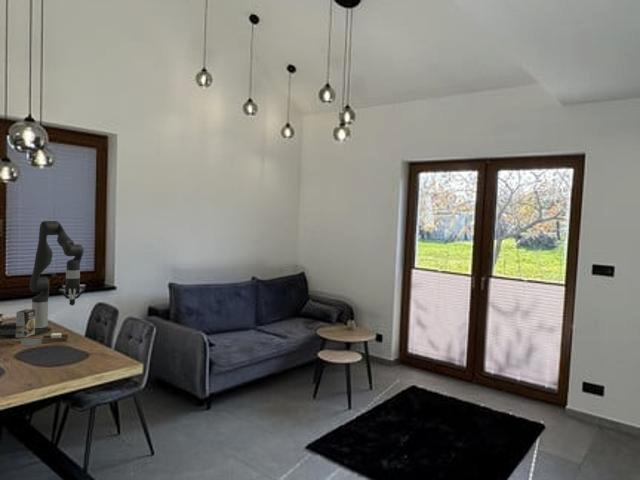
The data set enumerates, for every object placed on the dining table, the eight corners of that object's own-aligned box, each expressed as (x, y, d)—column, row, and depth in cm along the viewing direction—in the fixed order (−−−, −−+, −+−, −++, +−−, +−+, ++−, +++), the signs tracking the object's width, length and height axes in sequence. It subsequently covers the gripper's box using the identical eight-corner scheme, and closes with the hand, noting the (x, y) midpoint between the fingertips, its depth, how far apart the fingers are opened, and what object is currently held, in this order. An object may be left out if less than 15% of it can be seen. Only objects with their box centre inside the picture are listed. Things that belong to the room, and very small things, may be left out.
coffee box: (25, 338, 278) (26, 312, 277) (15, 337, 278) (15, 311, 277) (35, 334, 287) (35, 309, 286) (25, 333, 287) (25, 308, 286)
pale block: (51, 339, 276) (51, 333, 276) (61, 339, 278) (61, 332, 278) (50, 342, 271) (50, 335, 271) (60, 341, 273) (60, 334, 273)
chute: (43, 339, 277) (43, 334, 277) (67, 338, 283) (68, 333, 283) (41, 345, 266) (41, 339, 266) (66, 343, 272) (66, 338, 272)
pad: (22, 340, 272) (22, 339, 272) (43, 339, 277) (43, 338, 277) (19, 346, 262) (19, 345, 261) (41, 345, 266) (41, 344, 266)
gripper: (85, 276, 282) (84, 303, 283) (61, 276, 277) (60, 304, 278) (84, 278, 276) (84, 306, 277) (59, 278, 270) (59, 306, 271)
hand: (72, 305), depth 277 cm, fingers closed
